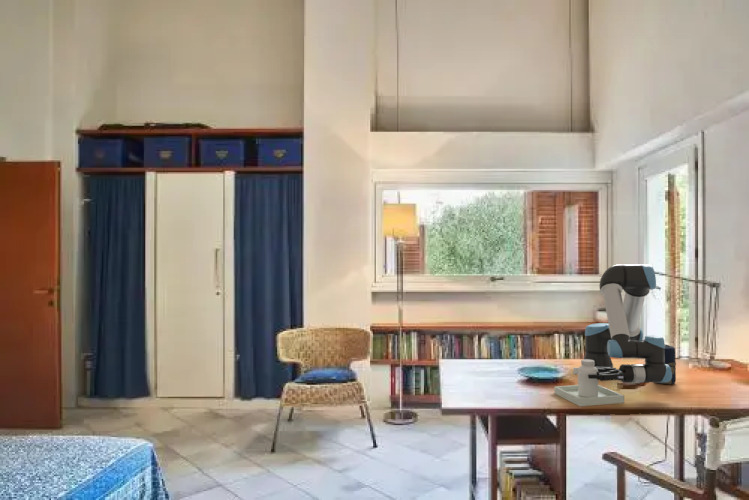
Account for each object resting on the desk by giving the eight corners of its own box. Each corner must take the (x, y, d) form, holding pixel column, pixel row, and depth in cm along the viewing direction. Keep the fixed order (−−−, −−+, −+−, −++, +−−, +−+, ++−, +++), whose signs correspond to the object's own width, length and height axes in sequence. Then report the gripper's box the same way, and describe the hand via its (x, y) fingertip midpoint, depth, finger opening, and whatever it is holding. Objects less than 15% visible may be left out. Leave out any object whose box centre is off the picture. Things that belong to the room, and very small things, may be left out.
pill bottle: (588, 399, 232) (587, 362, 232) (574, 394, 239) (573, 359, 239) (602, 396, 235) (602, 361, 235) (588, 392, 242) (587, 357, 242)
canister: (678, 385, 255) (678, 346, 254) (656, 385, 256) (655, 345, 256) (672, 380, 264) (671, 342, 264) (650, 379, 266) (649, 342, 266)
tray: (554, 393, 245) (554, 386, 245) (595, 390, 249) (595, 383, 249) (579, 406, 225) (579, 398, 225) (624, 402, 229) (624, 395, 229)
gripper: (641, 388, 225) (584, 388, 227) (622, 376, 246) (569, 376, 248) (641, 370, 225) (584, 370, 227) (621, 359, 246) (569, 359, 248)
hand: (576, 373), depth 237 cm, fingers open, 8 cm apart
